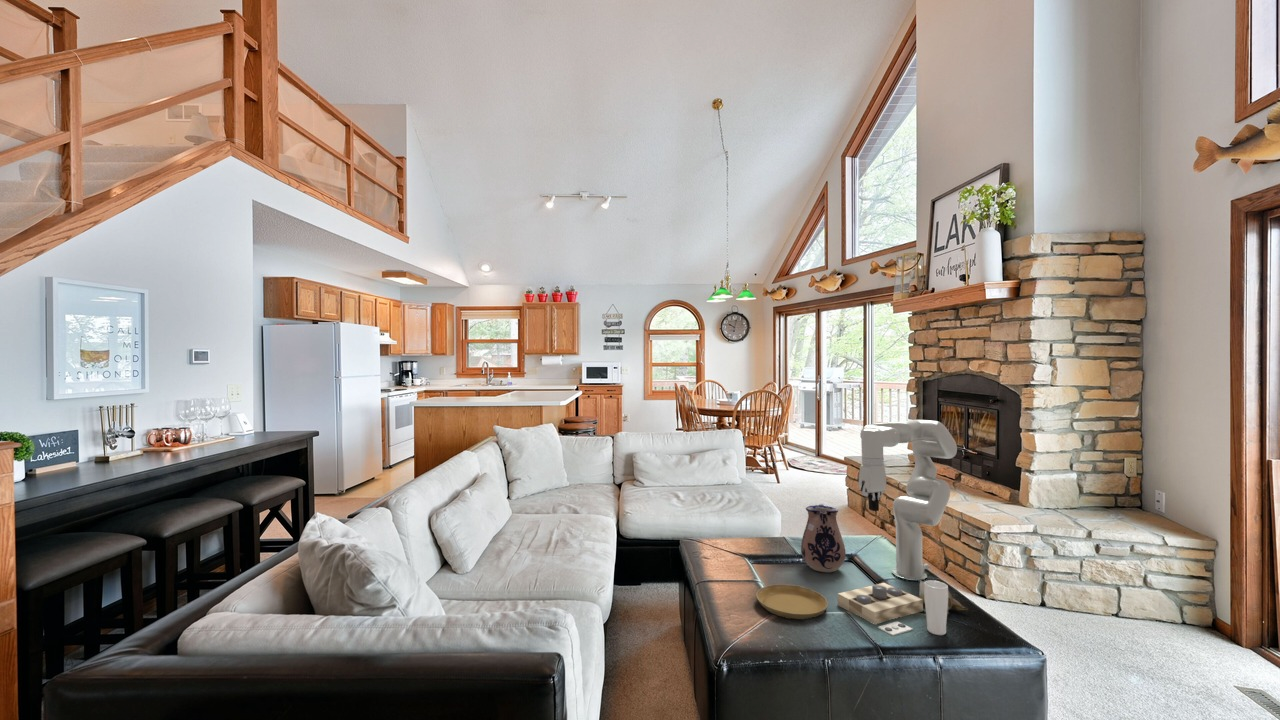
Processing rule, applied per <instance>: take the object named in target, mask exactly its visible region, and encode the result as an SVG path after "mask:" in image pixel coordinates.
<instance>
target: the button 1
mask: <svg viewBox="0 0 1280 720" xmlns="http://www.w3.org/2000/svg"><path fill="white" fill-rule="evenodd" d="M857 602H859V603H861V604H863V605H867V604H871V597H869V596H866V595H857Z"/></svg>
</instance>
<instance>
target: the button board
mask: <svg viewBox="0 0 1280 720" xmlns="http://www.w3.org/2000/svg"><path fill="white" fill-rule="evenodd" d="M874 585H880V586H884V587H886V588H887V600H883V601H879V600H877V599H875V598H873V597H872V586H874ZM874 585H873V584H872V585H869V586H863V587H860V588H856V589H852V590H848V591H847V590H846V591H843V592H838V593H837V606H838V607H840V608H843V609H844V610H846V611H848V612H850V613H851V614H854V615H856V614H857V615H856V616H858V615H859V616H860V618H861V617H862V619H863V618H864V620H865V619H866V620H865V621H867V620H868V622H869V621H870V623H871V622H872V623H871V624H873V623H874V624H873V625H878V624H881V622H882V623H884V621H885V622H889V621H892V620H891V619H893V620H895V618H896V619H899V618H898V617H900V618H903V617H906V616H909V615H910V614H911V615H914V614H917V613H921V612H923V611H924V603H923V599H921V598H919V596H916V595H913V594H911V593H909V592H907V591H906V590H905V591H904V590H902V596H898V597H895V596H892V595H890V594H888V588H890V587H894V588H896V587H895V586H893V585H890V584H888V583H886V582H881V583H877V584H874ZM857 595H866V596H869V597H871V604H867V605H863V604H861V603H859V602H857ZM859 616H858V617H859ZM888 620H889V621H888ZM877 623H878V624H877Z"/></svg>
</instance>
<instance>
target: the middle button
mask: <svg viewBox="0 0 1280 720" xmlns="http://www.w3.org/2000/svg"><path fill="white" fill-rule="evenodd" d="M871 586H872V585H871ZM872 597H873V598H875V599H877V600H879V601H883V600H887V588H886V587H884V586H880V585H876V584H874V586H872Z"/></svg>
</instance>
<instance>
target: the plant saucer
mask: <svg viewBox="0 0 1280 720" xmlns="http://www.w3.org/2000/svg"><path fill="white" fill-rule="evenodd" d="M755 596H756V599H757V601H758V602H759V604H760V606H762V607H763V608H764V609H766V611H768V612H769V613H771V614H773V615H775V616H779V617H781V616H782V617H781V618H784V617H787V618H786V619H790V618H796V619H795V620H803V619H802V618H810V619H813V618H812V617H814V618H816V617H818V616H820V615H822V614H823V613H824V612H825V611H826V610H827V608H828V605H829V603H828V600H827V598H826V597H825V596H823V595H822V593H819V592H818V591H816V590H813V589H811V588H807V587H804V586H801V585H794V584H784V583H781V584H780V583H779V584H778V583H777V584H770V585H766V586H763V587H761V588H760V589H758V591H756V593H755Z"/></svg>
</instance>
